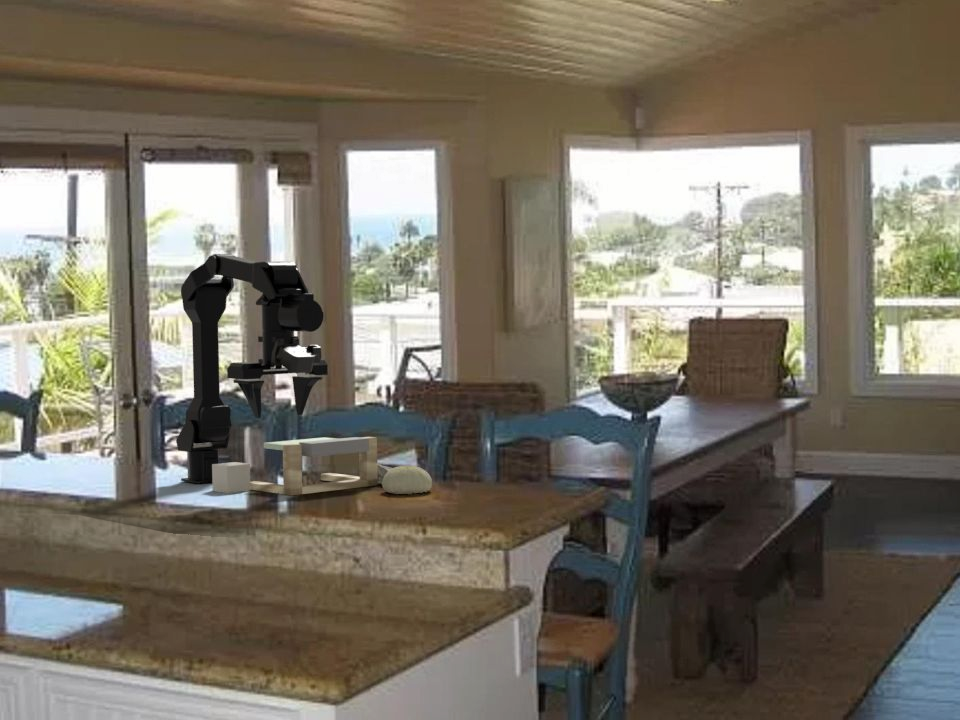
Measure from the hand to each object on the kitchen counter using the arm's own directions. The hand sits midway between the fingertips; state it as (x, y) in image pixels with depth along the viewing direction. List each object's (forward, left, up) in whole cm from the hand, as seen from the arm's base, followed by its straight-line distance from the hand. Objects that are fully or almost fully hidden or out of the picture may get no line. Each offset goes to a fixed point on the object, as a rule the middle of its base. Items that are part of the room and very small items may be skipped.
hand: (279, 416), depth 282 cm
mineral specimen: (+5, +22, -15) cm, 27 cm away
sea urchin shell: (+16, +16, -14) cm, 27 cm away
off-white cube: (-11, -4, -14) cm, 18 cm away
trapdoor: (-1, +9, -7) cm, 12 cm away
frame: (-3, +9, -14) cm, 17 cm away
